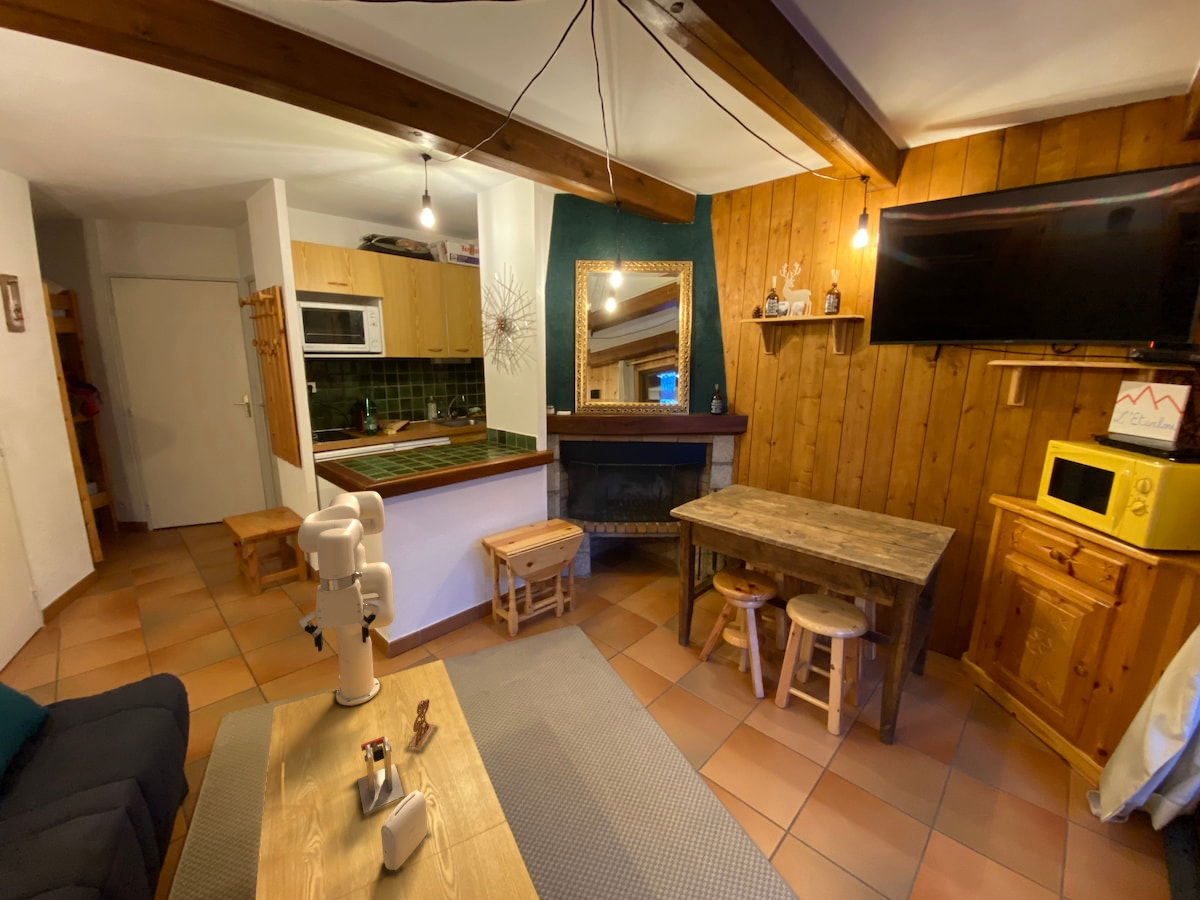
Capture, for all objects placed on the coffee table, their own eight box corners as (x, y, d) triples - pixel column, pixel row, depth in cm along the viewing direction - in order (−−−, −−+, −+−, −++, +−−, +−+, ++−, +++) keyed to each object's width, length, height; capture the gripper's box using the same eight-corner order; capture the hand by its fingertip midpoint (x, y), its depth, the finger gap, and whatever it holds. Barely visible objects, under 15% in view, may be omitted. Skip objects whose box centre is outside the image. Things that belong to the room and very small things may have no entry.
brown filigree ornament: (420, 751, 132) (419, 714, 130) (407, 749, 133) (405, 712, 131) (436, 727, 141) (435, 692, 139) (424, 725, 142) (422, 690, 139)
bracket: (357, 783, 122) (354, 740, 120) (395, 767, 127) (392, 725, 125) (364, 817, 113) (360, 771, 111) (404, 799, 118) (401, 755, 116)
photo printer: (395, 877, 101) (392, 829, 98) (380, 868, 102) (377, 820, 100) (430, 834, 110) (428, 789, 108) (416, 826, 112) (414, 781, 109)
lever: (361, 752, 125) (360, 742, 126) (384, 743, 128) (383, 733, 129) (367, 765, 115) (365, 754, 116) (391, 755, 118) (390, 745, 119)
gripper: (377, 568, 122) (381, 629, 125) (298, 579, 115) (304, 643, 118) (377, 581, 115) (381, 644, 119) (293, 593, 108) (300, 661, 111)
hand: (343, 644), depth 118 cm, fingers open, 9 cm apart
